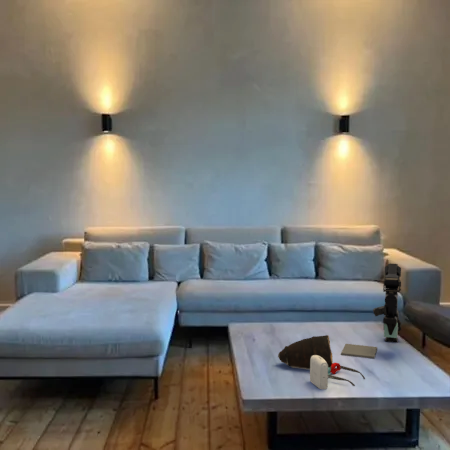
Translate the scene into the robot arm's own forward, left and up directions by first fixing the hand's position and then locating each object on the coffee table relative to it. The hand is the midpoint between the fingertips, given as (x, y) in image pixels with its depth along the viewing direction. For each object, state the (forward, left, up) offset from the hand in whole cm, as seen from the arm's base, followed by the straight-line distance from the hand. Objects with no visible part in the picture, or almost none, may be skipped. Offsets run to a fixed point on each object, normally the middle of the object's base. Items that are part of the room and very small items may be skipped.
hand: (390, 333), depth 257 cm
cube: (0, 0, -1) cm, 1 cm away
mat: (0, -15, -11) cm, 19 cm away
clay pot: (+30, -36, -11) cm, 48 cm away
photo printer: (+50, -26, -11) cm, 57 cm away
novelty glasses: (+39, -17, -12) cm, 44 cm away
